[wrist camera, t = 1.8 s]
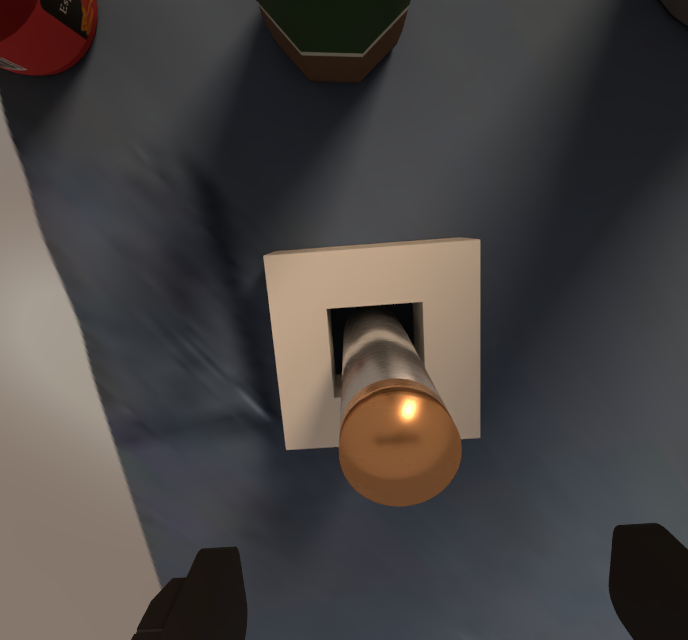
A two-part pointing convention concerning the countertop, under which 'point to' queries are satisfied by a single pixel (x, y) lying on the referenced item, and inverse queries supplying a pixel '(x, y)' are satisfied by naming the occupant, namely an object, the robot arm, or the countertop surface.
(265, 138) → the countertop surface
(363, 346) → the plug
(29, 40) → the canned food
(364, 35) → the beer bottle
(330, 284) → the socket block
